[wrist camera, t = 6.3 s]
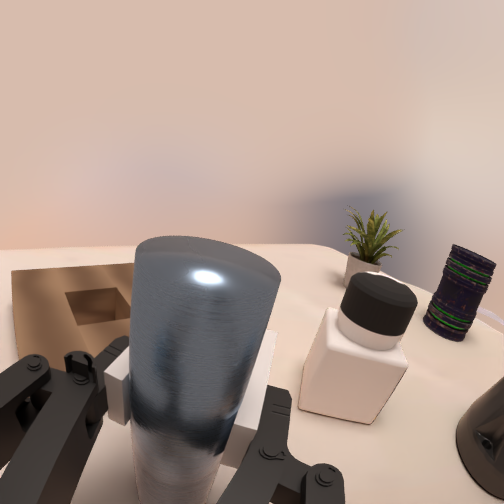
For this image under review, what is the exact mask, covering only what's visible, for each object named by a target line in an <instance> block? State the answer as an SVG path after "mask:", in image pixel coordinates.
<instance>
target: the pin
mask: <svg viewBox="0 0 504 504" xmlns="http://www.w3.org/2000/svg"><path fill="white" fill-rule="evenodd" d="M280 282H281V276H280V273H279V271H278V270H277V269H276V268H275V267H274V266H273V265H272V264H271V263H270V262H268V261H267V260H265V259H264V258H262V257H260V256H258V255H256V254H254V253H252V252H250V251H248V250H245V249H243V248H240V247H237V246H234V245H231V244H227V243H224V242H219V241H215V240H211V239H205V238H199V237H190V236H162V237H155V238H151V239H148V240H146V241H144V242H142V243H140V244H139V245H138V247H137V248H136V253H135V262H134V272H133V283H132V296H131V311H130V333H129V402H130V423H131V438H132V449H133V460H134V469H135V477H136V484H137V491H138V497H139V500H140V503H141V504H205V503H206V500H207V497H208V495H209V492H210V490H211V487H212V484H213V482H214V479H215V476H216V474H217V471H218V468H219V466H220V461H221V458H222V455H223V453H224V450H225V447H226V444H227V441H228V438H229V436H230V433H231V430H232V427H233V424H234V421H235V418H236V415H237V412H238V410H239V408H240V406H241V404H242V401H243V398H244V395H245V392H246V389H247V386H248V383H249V380H250V377H251V374H252V371H253V368H254V365H255V362H256V359H257V356H258V353H259V350H260V347H261V343H262V340H263V337H264V334H265V331H266V328H267V324H268V321H269V318H270V315H271V312H272V308H273V305H274V302H275V298H276V295H277V292H278V288H279V285H280Z"/></svg>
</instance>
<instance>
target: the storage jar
mask: <svg viewBox="0 0 504 504" xmlns="http://www.w3.org/2000/svg"><path fill="white" fill-rule="evenodd" d="M449 257H451V258H449ZM449 257H448V258H447V261H446V264H447V265H445V268H444V270H443V276H442V279H441V281H440V284H439V287H438V289H437V291H436V292H435V293H434V295H433V296H432V300H431V301H430V303H429V305H428V309H427V313H426V315H425V316H424V318H423V322H424V324H425V325H426V326H427V327H428V328H429V329H430V330H432V331H433V332H434V333H436V334H438V335H439V336H441V337H443V338H446V339H448V340H451V341H456V342H460V341H463V340H464V338H465V334H466V333H467V332H468V329H469V328H470V327H471V325H472V323H473V320H474V318H475V316H476V311H477V308H478V306H479V304H480V302H481V299H482V297H483V295H484V294H485V293H486V291H487V288H488V284H490V282H491V279H492V278H491V277H490V276H492V275H493V270H494V269H495V267H496V263H494V262H492V261H491V260H489V259H487V258H485V257H483V256H481V255H478V254H477V253H474V252H472V251H470V250H468V249H465V248H463V247H460V246H457V245H454V244H453V245H452V250H451V252H450V254H449Z"/></svg>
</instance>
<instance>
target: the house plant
mask: <svg viewBox="0 0 504 504" xmlns="http://www.w3.org/2000/svg"><path fill="white" fill-rule="evenodd" d="M357 213H358V212H357ZM386 213H387V212H386ZM386 213H385V214H384V215H383V216H381V217H380V218H379V216H378V214H377V215H376V217H375V220H374V210H373V211H372V213H371V216H370V218H369V219H368V220H369V222H368V224H367V234H365V230H364V226H363V222H362V219H361V217H360V215H359V218H360V220H361V222H360V220H359V219H358V218H357V217H356V216H355V215H354V214H353V215H354V216H355V217H356V219H357V220H358V222H359V223H358V222H357V220H356V219H355V218H354V217H353V218H354V220H355V221H356V223H357V225H358V228H359V229H357V228H354V227H351V226H348V227H349V228H351V229H353V230H355V231H356V232H358V233H359V234H360V237H361V242H360V241H359V240H358V239H357V237H356V236H355V235H353V234H352V232H351V231H350V230H349V229H348V230H349V231H350V233H351V234H350V233H345V234H349V235H351V236H352V238H353V240H352V239H347V240H346V241H353V242H352V244H356V246H357V249H358V251H359V253H355V252H350V253H349V256H348V262H347V267H346V273H345V278H344V286H345V287H346V288H347V287H348V284H349V281H350V278H351V276H352V275H354V274H356V273H358V272H368V271H369V272H376V273H379V271H380V269H381V267H382V263H381V262H379V261H378V259H379V258H380V257H382V256H386V255H389V254H386V253H383V254H381V253H382V252H383V251H385V250H386V248H389V247H392V246H388V247H385V246H384V247H382V248H381V249H380V250H379V251H377V250H378V249H379V248H380V247H381V246H382V245H383V244H384V243H385V242H387V241H388V240H389V239H390V238H391V237H393V236H394V234H395V233H396V234H397V232H398V231H400V232H401V230H396V231H393V232H391V233H389V234H388V235H386V233H387V231H388V229H389V224H388V226H387V227H386V224H387V219H386V221H385V223H384V224H383V227H382V229H381V231H380V232H379V234H378V236H377V238H376V239H375V236H376V234H377V231H378V229H379V227H380V224H381V222H382V220H383V218H384V216H385V215H386ZM358 214H359V213H358ZM351 217H352V216H351ZM361 223H362V224H361ZM359 224H360V226H361V228H362V231H363V232H362V231H361V229H360V226H359ZM385 227H386V228H385ZM398 233H399V232H398ZM396 234H395V235H396ZM343 235H344V234H343ZM385 235H386V236H385ZM384 236H385V237H384ZM354 237H356V239H357V240H356V239H355V238H354ZM362 237H364V239H365V243H363V238H362ZM383 237H384V238H383ZM376 242H377V243H376ZM360 243H362V246H361V244H360ZM352 244H351V245H352ZM395 248H397V247H395ZM376 251H377V253H376V254H375V255H374V253H375V252H376ZM390 256H391V255H390ZM391 257H392V256H391Z"/></svg>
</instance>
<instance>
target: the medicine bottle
mask: <svg viewBox="0 0 504 504" xmlns="http://www.w3.org/2000/svg"><path fill="white" fill-rule="evenodd" d="M417 304H418V302H417V298H416V296H415V294H414V293H413V292H412V291H411V290H410V288H409V287H407V286H406V285H405V284H403V283H402V282H400V281H398V280H396V279H394V278H392V277H389V276H386V275H383V274H380V273H376V272H369V271H368V272H358V273H356V274H354V275H352V276H351V278H350V281H349V284H348V287H347V289H346V292H345V295H344V297H343V300H342V303H341V305H340V308H339V310H337V309H334V308H330V307H329V308H327V309H326V311H325V314H324V317H323V319H322V322H321V324H320V327H319V329H318V332H317V334H316V337H315V339H314V342H313V344H312V347H311V349H310V352H309V354H308V356H307V359H306V361H305V363H304V371H303V378H302V385H301V392H300V398H299V405H298V407H299V408H300V409H302V410H306V411H310V412H314V413H318V414H322V415H327V416H331V417H336V418H340V419H345V420H350V421H355V422H361V423H366V424H371V423H372V422H373V421H374V420H375V418H376V417H377V415H378V414H379V412H380V411H381V410H382V408H383V407H384V405H385V404H386V402H387V401H388V399H389V398H390V396H391V394H392V393H393V391H394V390H395V388H396V386H397V385H398V383H399V382H400V380H401V378H402V377H403V375H404V373H405V372H406V370H407V368H408V362H407V359H406V357H405V354H404V352H403V349H402V347H401V344H400V342H399V341H400V340H401V339H402V337H403V335H404V333H405V330H406V328H407V326H408V324H409V322H410V320H411V318H412V316H413V313H414V311H415V309H416V307H417Z"/></svg>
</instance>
